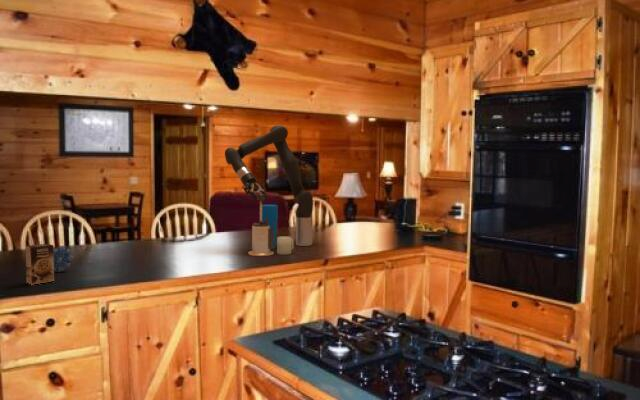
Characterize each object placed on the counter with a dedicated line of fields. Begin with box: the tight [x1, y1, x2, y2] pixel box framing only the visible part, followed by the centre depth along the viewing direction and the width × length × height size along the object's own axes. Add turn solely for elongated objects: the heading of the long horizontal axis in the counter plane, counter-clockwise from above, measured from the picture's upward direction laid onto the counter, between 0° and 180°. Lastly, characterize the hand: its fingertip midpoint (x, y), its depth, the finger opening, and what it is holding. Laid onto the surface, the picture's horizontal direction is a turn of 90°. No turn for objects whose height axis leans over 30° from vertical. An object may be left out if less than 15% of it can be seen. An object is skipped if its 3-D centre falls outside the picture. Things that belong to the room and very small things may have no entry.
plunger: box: [257, 193, 266, 224], centre depth 298 cm, size 5×5×22 cm
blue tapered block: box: [262, 204, 279, 249], centre depth 321 cm, size 11×11×25 cm
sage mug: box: [276, 235, 295, 255], centre depth 303 cm, size 9×8×9 cm
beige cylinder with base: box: [247, 222, 275, 257], centre depth 299 cm, size 14×14×17 cm
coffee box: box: [25, 243, 55, 286], centre depth 228 cm, size 9×6×16 cm
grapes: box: [53, 245, 74, 273], centre depth 249 cm, size 12×7×12 cm, turn 120°
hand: (261, 198), depth 297 cm, fingers open, 8 cm apart
